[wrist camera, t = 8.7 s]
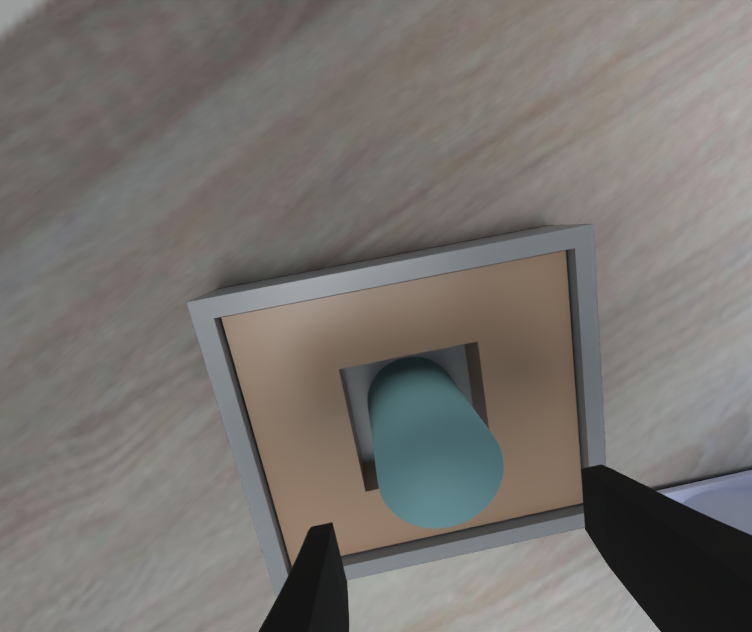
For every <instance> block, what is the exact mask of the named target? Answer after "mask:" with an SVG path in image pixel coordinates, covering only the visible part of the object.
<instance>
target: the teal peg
mask: <svg viewBox="0 0 752 632" xmlns="http://www.w3.org/2000/svg"><path fill="white" fill-rule="evenodd" d="M367 402H368V411H369V419H370V426H371V434H372V442H373V450H374V457H375V465H376V473H377V481H378V487H379V491H380V494H381V496H382V499H383V500H384V502H385V504H386V505H387V507H388V508H389V509H390V510H391V511H392V512H393V513H394V514H395V515H396V516H397V517H399V518H400V519H402V520H403V521H405V522H407V523H409V524H412V525H415V526H418V527H423V528H431V529H437V528H447V527H452V526H456V525H459V524H461V523H464V522H466V521H468V520H470V519H472V518H473V517H475V516H476V515H478V514H479V513H480V512H481V511H483V510H484V509H485V508H486V507H487V506H488V505H489V504H490V502H491V501H492V500H493V498H494V497H495V495H496V493H497V492H498V489H499V487H500V485H501V482H502V478H503V472H504V461H503V455H502V451H501V448H500V446H499V444H498V442H497V440H496V439H495V437H494V436H493V434H492V433H491V432H490V430H489V429H488V428H487V426H486V425H485V423H484V422H483V421H482V419H481V418H480V417H479V415H478V414H477V412H476V411H475V410H474V408H473V407H472V406H471V404H470V403H469V402H468V400H467V399H466V397H465V396H464V395H463V393H462V392H461V391H460V389H459V388H458V386H457V385H456V384H455V382H454V381H453V380H452V378H451V377H450V375H449V374H448V373H447V371H446V370H445V369H444V368H443V367H441V366H440V365H439V364H437V363H436V362H434V361H432V360H429V359H426V358H422V357H406V358H401V359H398V360H395V361H393V362H391V363H389V364H388V365H386V366H385V367H384V368H383V369H381V370H380V371H379V373H378V374H377V375H376V376H375V378H374V379H373V381H372V383H371V385H370V388H369V392H368V400H367Z"/></svg>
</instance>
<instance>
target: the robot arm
mask: <svg viewBox="0 0 752 632" xmlns="http://www.w3.org/2000/svg"><path fill="white" fill-rule="evenodd" d="M581 479H582V493H583V507H584V521H585V530H586V531H587V533H588V534H589V536H590V538H591V539H592V541H593V542H594V544H595V546H596V547H597V549H598V550H599V552H600V553H601V555H602V557H603V558H604V560H605V561H606V563H607V564H608V566H609V567H610V568H611V570H612V571H613V572H614V573H615V575H616V576H617V577H618V579H619V580H620V581H621V582H622V584H623V585H624V586H625V587H626V589H627V590H628V591H629V592H630V594H631V595H632V596H633V597H634V599H635V600H636V601H637V602H638V604H639V605H640V606H641V607H642V609H643V610H644V611H645V612H646V614H647V615H648V616H649V617H650V619H651V620H652V621H653V622H654V624H655V625H656V626H657V627H658V629H659V630H660V631H661V632H752V470H749V471H744V472H740V473H735V474H731V475H726V476H721V477H717V478H712V479H708V480H703V481H699V482H694V483H690V484H685V485H681V486H676V487H671V488H667V489H662V490H658V491H655V490H653V489H651V488H649V487H647V486H645V485H643V484H641V483H639V482H637V481H635V480H633V479H631V478H629V477H627V476H625V475H623V474H621V473H619V472H617V471H615V470H613V469H611V468H608V467H606V466H604V465H602V464H601V465H596V466H591V467H587V468H582V469H581ZM259 632H349V609H348V590H347V579H346V575H345V571H344V567H343V563H342V559H341V555H340V551H339V547H338V543H337V539H336V535H335V530H334V526H333V522H331V523H326V524H322V525H317V526H312V527H311V528H310V529H309V530H308V532H307V535H306V537H305V539H304V542H303V544H302V546H301V549H300V551H299V553H298V555H297V558H296V560H295V562H294V564H293V566H292V569H291V571H290V573H289V575H288V577H287V579H286V581H285V583H284V585H283V587H282V589H281V591H280V593H279V595H278V597H277V599H276V601H275V603H274V605H273V607H272V608H271V610H270V612H269V614H268V616H267V617H266V619H265V621H264V623H263V625H262V626H261V628H260V630H259Z"/></svg>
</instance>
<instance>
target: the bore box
mask: <svg viewBox="0 0 752 632" xmlns="http://www.w3.org/2000/svg"><path fill="white" fill-rule="evenodd" d="M187 305H188V308H189V311H190V315H191V318H192V321H193V324H194V328H195V331H196V334H197V338H198V341H199V344H200V348H201V351H202V354H203V358H204V361H205V364H206V367H207V371H208V374H209V377H210V381H211V384H212V387H213V391H214V394H215V397H216V401H217V404H218V407H219V410H220V414H221V417H222V420H223V424H224V427H225V430H226V434H227V437H228V440H229V444H230V447H231V450H232V454H233V457H234V460H235V463H236V467H237V470H238V473H239V477H240V480H241V483H242V487H243V490H244V493H245V497H246V500H247V503H248V506H249V510H250V513H251V516H252V520H253V523H254V526H255V530H256V533H257V536H258V540H259V543H260V546H261V549H262V553H263V556H264V559H265V563H266V566H267V569H268V573H269V576H270V579H271V583H272V586H273V589H274V593H275V596H278V595H279V593H280V591H281V589H282V587H283V585H284V583H285V581H286V579H287V577H288V575H289V573H290V571H291V569H292V566H293V564H294V562H295V560H296V558H297V555H298V553H299V551H300V549H301V546H302V544H303V542H304V539H305V537H306V535H307V532H308V530H309V529H310V528H311V527H312V526H317V525H322V524H326V523H331V522H333V526H334V530H335V535H336V539H337V543H338V547H339V551H340V555H341V559H342V563H343V567H344V571H345V575H346V579H347V580H351V579H355V578H360V577H364V576H369V575H373V574H378V573H382V572H387V571H391V570H396V569H400V568H405V567H409V566H414V565H418V564H423V563H427V562H432V561H436V560H441V559H445V558H450V557H454V556H459V555H463V554H468V553H472V552H477V551H481V550H486V549H490V548H495V547H499V546H504V545H508V544H513V543H517V542H522V541H526V540H531V539H535V538H540V537H544V536H549V535H553V534H558V533H562V532H567V531H571V530H576V529H580V528H585V521H584V507H583V493H582V479H581V469H582V468H587V467H591V466H596V465H601V464H602V465H604V466H606V455H605V436H604V417H603V398H602V379H601V360H600V341H599V322H598V303H597V284H596V265H595V246H594V227H593V224H579V225H549V226H543V227H537V228H532V229H527V230H522V231H516V232H511V233H506V234H501V235H496V236H490V237H485V238H480V239H475V240H470V241H464V242H459V243H454V244H449V245H443V246H438V247H433V248H428V249H423V250H417V251H412V252H407V253H402V254H397V255H391V256H386V257H381V258H376V259H370V260H365V261H360V262H355V263H350V264H344V265H339V266H334V267H329V268H324V269H318V270H313V271H308V272H303V273H297V274H292V275H287V276H282V277H277V278H271V279H266V280H261V281H256V282H251V283H245V284H240V285H235V286H230V287H224V288H219V289H216V290H214V291H211V292H209V293H207V294H204V295H202V296H200V297H198V298H195V299H193V300H191V301H189V302H187ZM406 357H422V358H426V359H429V360H432V361H434V362H436V363H437V364H439V365H440V366H441V367H443V368H444V369H445V370H446V371H447V373H448V374H449V375H450V377H451V378H452V380H453V381H454V382H455V384H456V385H457V386H458V388H459V389H460V391H461V392H462V393H463V395H464V396H465V397H466V399H467V400H468V402H469V403H470V404H471V406H472V407H473V408H474V410H475V411H476V412H477V414H478V415H479V417H480V418H481V419H482V421H483V422H484V423H485V425H486V426H487V428H488V429H489V430H490V432H491V433H492V434H493V436H494V437H495V439H496V440H497V442H498V444H499V446H500V448H501V451H502V455H503V461H504V472H503V478H502V482H501V485H500V487H499V489H498V492H497V493H496V495H495V497H494V498H493V500H492V501H491V502H490V504H489V505H488V506H487V507H486V508H485V509H484V510H483V511H481V512H480V513H479V514H478V515H476V516H475V517H473V518H472V519H470V520H468V521H466V522H464V523H461V524H459V525H456V526H452V527H447V528H437V529H431V528H423V527H418V526H415V525H412V524H409V523H407V522H405V521H403V520H402V519H400V518H399V517H397V516H396V515H395V514H394V513H393V512H392V511H391V510H390V509H389V508H388V507H387V505H386V504H385V502H384V500H383V499H382V496H381V494H380V491H379V487H378V481H377V473H376V465H375V457H374V450H373V442H372V434H371V426H370V419H369V411H368V402H367V400H368V392H369V388H370V385H371V383H372V381H373V379H374V378H375V376H376V375H377V374H378V373H379V371H380V370H381V369H383V368H384V367H385V366H386V365H388V364H389V363H391V362H393V361H395V360H398V359H401V358H406Z"/></svg>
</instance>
